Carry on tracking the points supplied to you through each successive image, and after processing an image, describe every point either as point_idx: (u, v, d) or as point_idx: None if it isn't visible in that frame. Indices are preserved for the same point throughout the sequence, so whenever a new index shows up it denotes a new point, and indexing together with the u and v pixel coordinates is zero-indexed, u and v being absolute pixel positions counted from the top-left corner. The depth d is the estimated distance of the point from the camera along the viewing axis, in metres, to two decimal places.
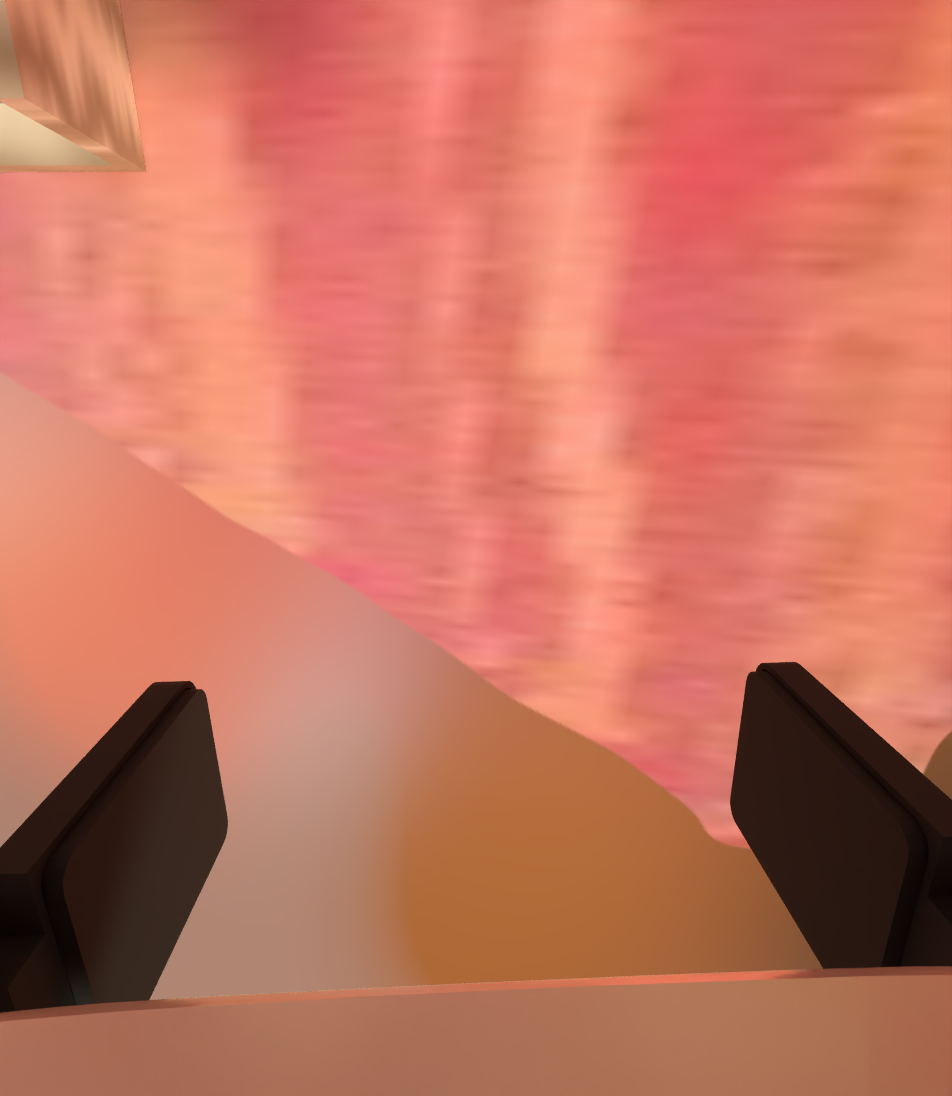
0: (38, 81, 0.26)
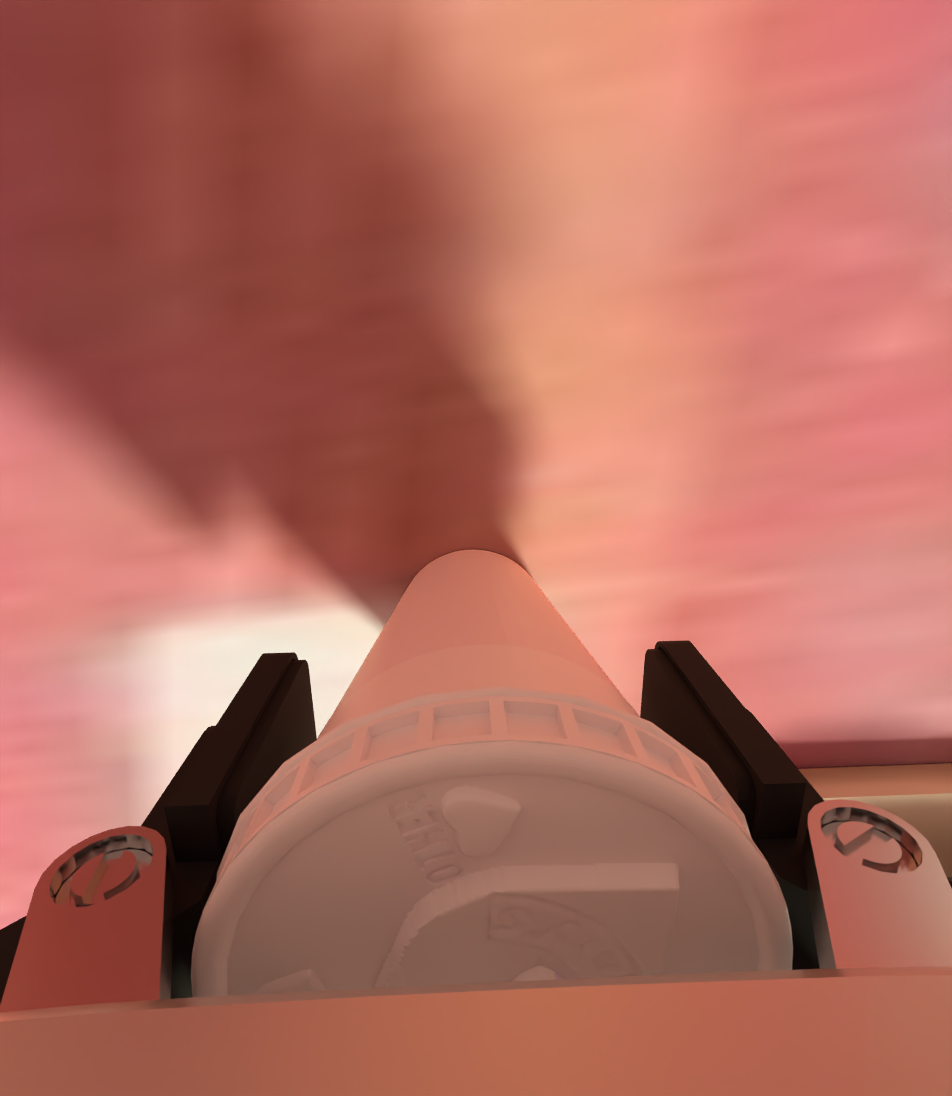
0: None
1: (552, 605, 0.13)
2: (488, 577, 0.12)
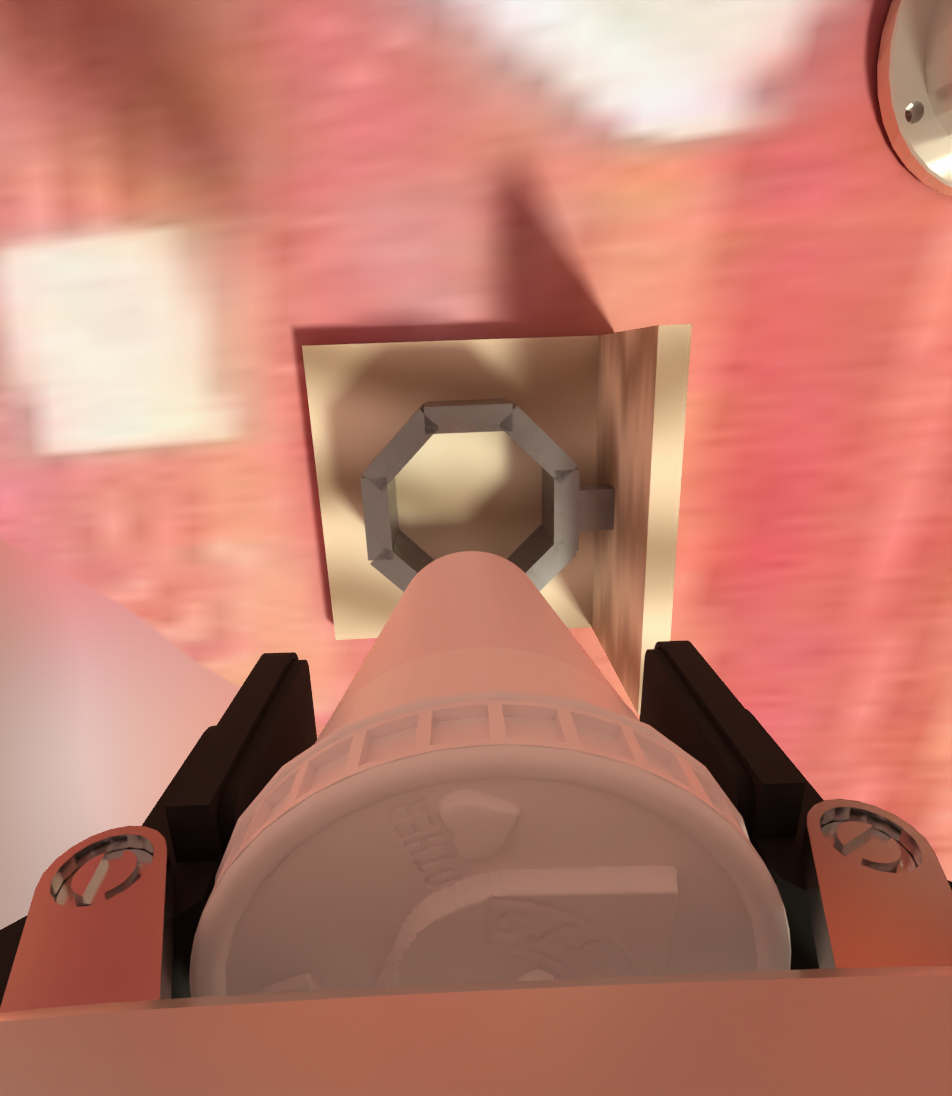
0: None
1: (551, 607, 0.13)
2: (487, 579, 0.12)
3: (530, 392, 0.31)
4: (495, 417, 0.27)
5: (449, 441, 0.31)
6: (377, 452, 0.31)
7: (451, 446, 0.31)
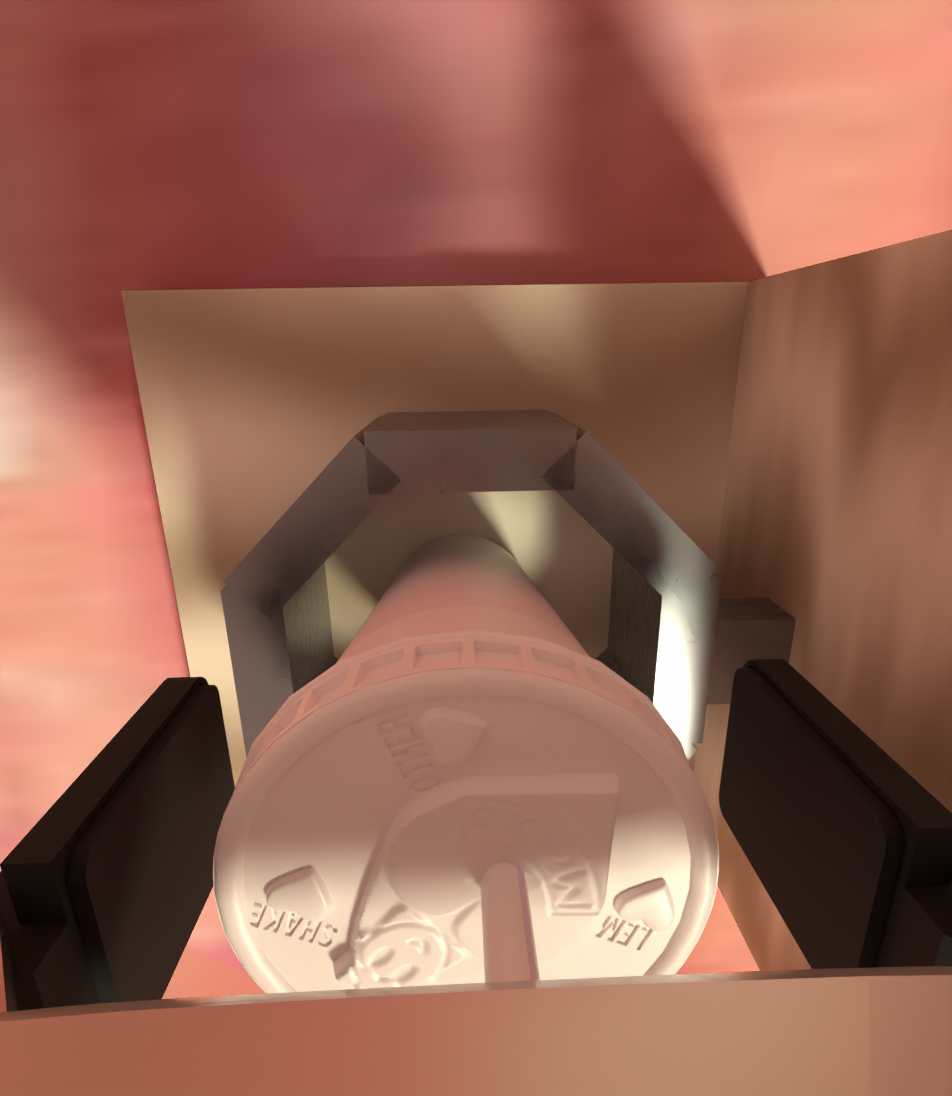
0: None
1: (532, 582, 0.14)
2: (473, 556, 0.13)
3: (597, 398, 0.15)
4: (534, 457, 0.11)
5: (432, 493, 0.16)
6: None
7: (436, 502, 0.16)
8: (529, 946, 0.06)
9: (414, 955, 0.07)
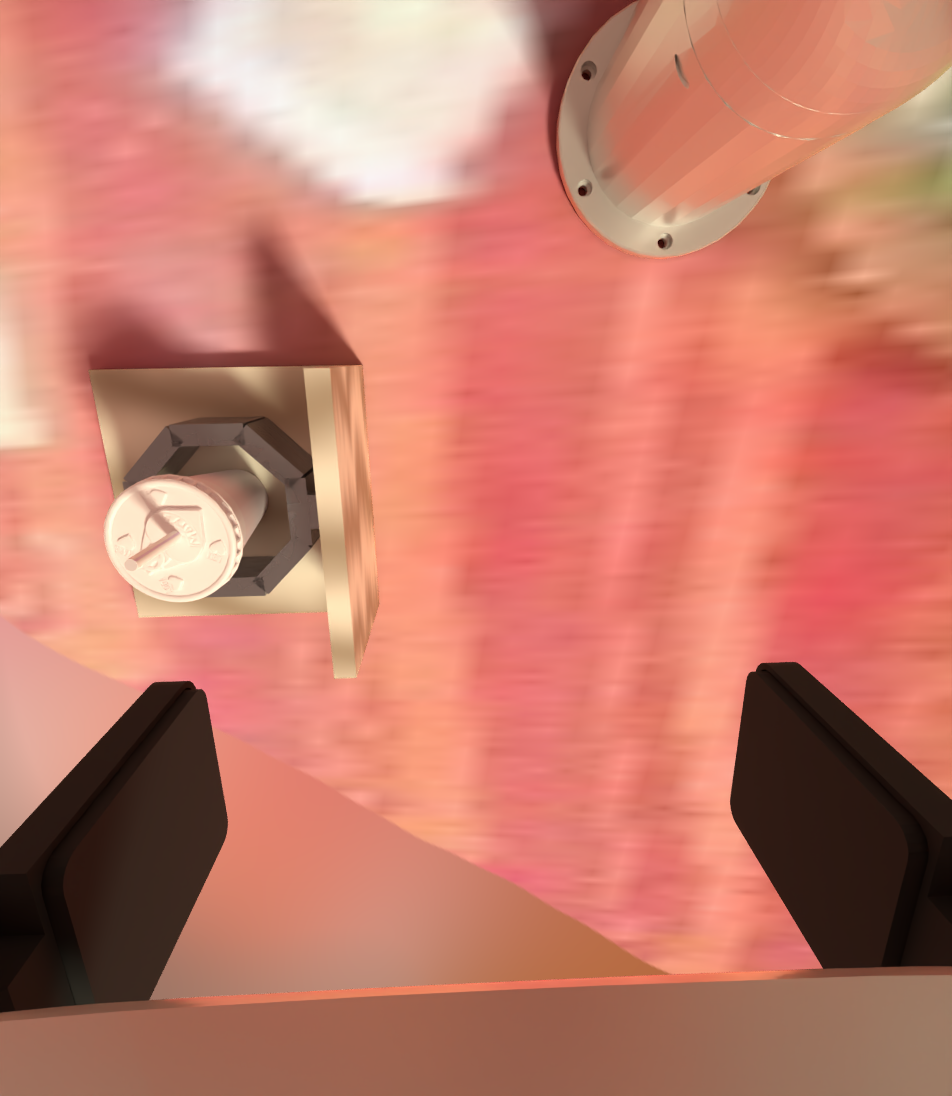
0: (358, 649, 0.33)
1: (248, 483, 0.35)
2: (221, 472, 0.35)
3: (285, 411, 0.37)
4: (229, 433, 0.33)
5: (220, 451, 0.37)
6: None
7: (223, 455, 0.37)
8: (170, 538, 0.28)
9: (156, 558, 0.29)
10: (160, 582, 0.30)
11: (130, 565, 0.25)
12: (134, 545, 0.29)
